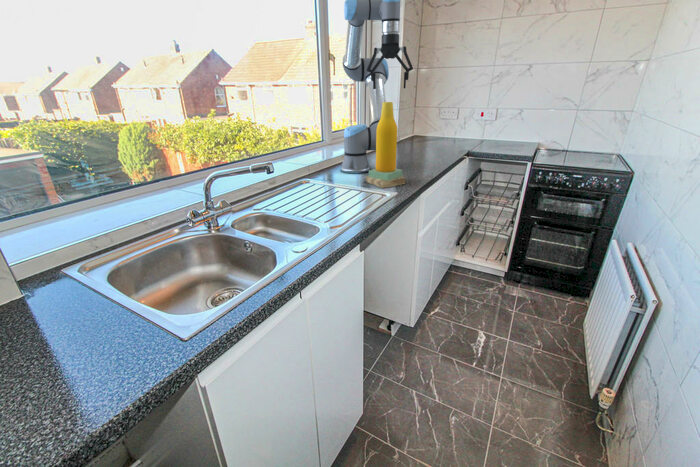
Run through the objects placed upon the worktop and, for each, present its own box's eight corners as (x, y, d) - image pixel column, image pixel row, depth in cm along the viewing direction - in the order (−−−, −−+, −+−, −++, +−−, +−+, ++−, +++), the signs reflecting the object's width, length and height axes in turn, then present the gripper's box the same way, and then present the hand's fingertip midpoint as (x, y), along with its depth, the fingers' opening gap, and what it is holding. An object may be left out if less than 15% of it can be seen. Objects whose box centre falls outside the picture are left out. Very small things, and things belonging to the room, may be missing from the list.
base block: (365, 181, 155) (365, 175, 154) (387, 178, 161) (388, 171, 160) (382, 188, 145) (382, 181, 144) (405, 183, 151) (405, 177, 150)
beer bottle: (398, 171, 148) (402, 102, 136) (379, 173, 146) (380, 102, 134) (391, 167, 156) (394, 101, 144) (373, 168, 154) (374, 102, 142)
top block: (368, 176, 152) (368, 170, 151) (383, 172, 159) (383, 166, 158) (387, 180, 145) (387, 174, 144) (402, 176, 152) (402, 169, 151)
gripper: (360, 34, 138) (360, 89, 148) (420, 31, 134) (417, 88, 143) (362, 36, 144) (363, 88, 154) (420, 33, 140) (417, 87, 150)
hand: (389, 88), depth 149 cm, fingers open, 13 cm apart
